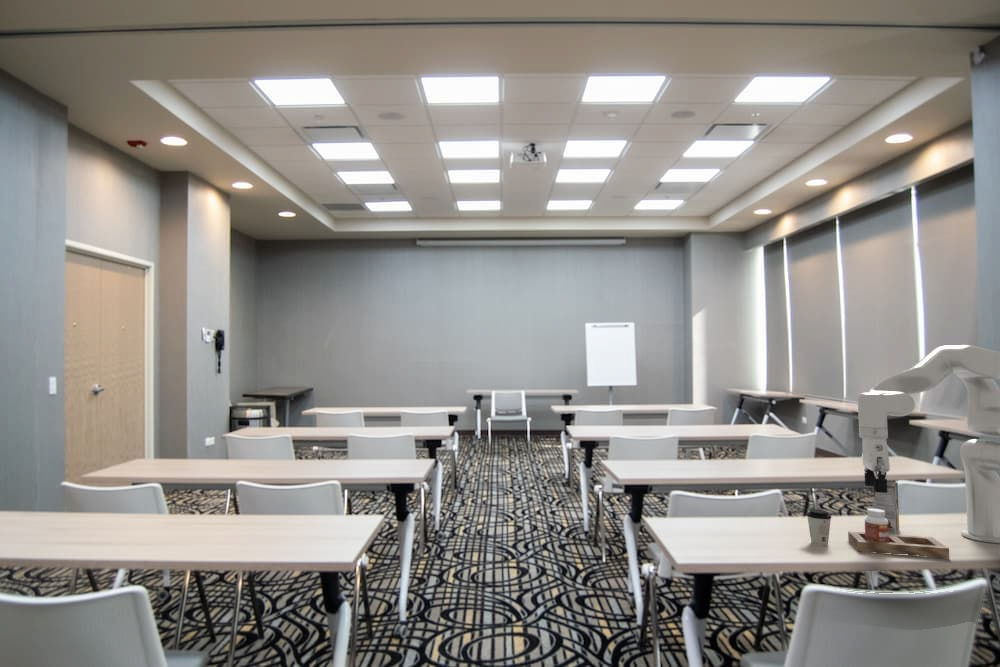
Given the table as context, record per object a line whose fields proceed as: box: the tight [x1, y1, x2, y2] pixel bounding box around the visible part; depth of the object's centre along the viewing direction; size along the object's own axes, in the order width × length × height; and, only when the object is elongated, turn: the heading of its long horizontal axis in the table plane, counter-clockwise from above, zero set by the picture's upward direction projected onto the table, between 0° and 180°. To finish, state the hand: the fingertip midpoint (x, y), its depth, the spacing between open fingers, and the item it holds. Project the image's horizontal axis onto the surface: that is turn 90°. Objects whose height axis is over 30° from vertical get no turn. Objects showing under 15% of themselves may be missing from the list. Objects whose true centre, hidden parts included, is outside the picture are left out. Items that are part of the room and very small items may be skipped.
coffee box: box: [873, 481, 900, 535], centre depth 203 cm, size 9×6×16 cm
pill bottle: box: [864, 508, 889, 542], centre depth 184 cm, size 6×6×11 cm
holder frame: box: [847, 531, 950, 559], centre depth 182 cm, size 23×12×3 cm, turn 74°
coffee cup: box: [806, 508, 832, 546], centre depth 188 cm, size 7×7×10 cm
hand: (875, 488), depth 185 cm, fingers open, 9 cm apart
